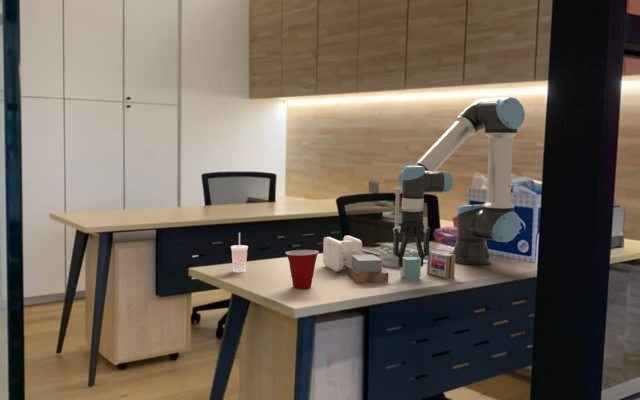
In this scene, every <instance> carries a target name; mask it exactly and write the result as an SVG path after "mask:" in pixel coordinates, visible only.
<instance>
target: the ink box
mask: <svg viewBox="0 0 640 400" xmlns="http://www.w3.org/2000/svg"><path fill="white" fill-rule="evenodd" d="M455 258H456V255H452V253H447V252H441V251H438V250H431V251H430V250H429V255H428V256H427V264H426V266H427V268H426V274H427V275H432V276H436V277H439V278H442V279H446V280H451V279H454V278H455V271H456V270H455V269H456V262H455Z"/></svg>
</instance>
